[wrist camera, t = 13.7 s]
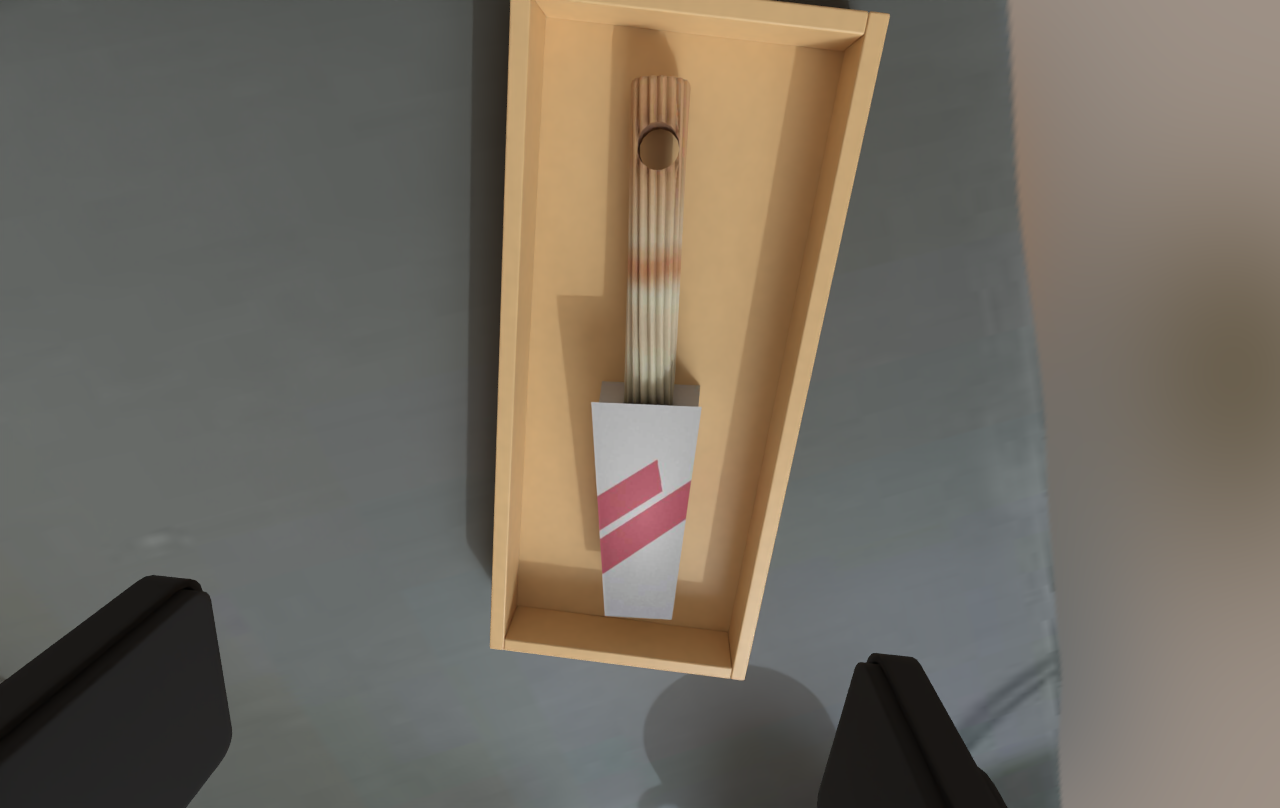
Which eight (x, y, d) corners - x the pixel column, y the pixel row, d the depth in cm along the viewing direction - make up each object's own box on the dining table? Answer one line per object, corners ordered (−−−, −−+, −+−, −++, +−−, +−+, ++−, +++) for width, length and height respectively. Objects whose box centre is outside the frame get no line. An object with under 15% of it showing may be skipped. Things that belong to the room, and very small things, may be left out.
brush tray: (507, 605, 28) (489, 648, 25) (532, -1, 19) (510, -31, 17) (737, 634, 28) (744, 681, 25) (861, 37, 19) (891, 13, 17)
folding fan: (586, 638, 23) (598, 68, 18) (595, 596, 26) (608, 88, 20) (684, 645, 23) (730, 73, 17) (683, 602, 26) (723, 92, 20)
